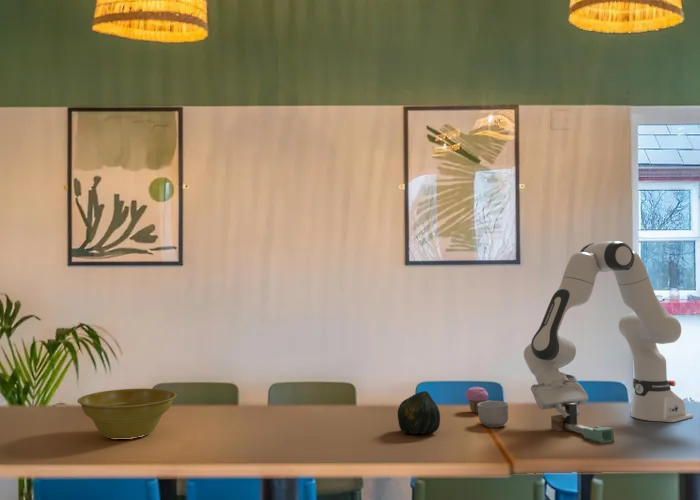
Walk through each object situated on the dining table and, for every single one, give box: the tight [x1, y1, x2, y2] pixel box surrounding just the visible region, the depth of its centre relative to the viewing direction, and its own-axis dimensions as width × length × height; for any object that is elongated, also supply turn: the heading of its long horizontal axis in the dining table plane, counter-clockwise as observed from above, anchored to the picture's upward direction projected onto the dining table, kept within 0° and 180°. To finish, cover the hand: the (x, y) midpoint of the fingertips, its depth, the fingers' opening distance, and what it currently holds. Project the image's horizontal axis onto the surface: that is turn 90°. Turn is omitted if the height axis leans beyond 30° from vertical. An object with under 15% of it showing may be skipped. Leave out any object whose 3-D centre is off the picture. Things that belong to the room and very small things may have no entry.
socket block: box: [550, 414, 570, 432], centre depth 222 cm, size 7×4×4 cm, turn 113°
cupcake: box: [465, 386, 489, 414], centre depth 251 cm, size 9×9×10 cm
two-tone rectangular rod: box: [563, 403, 594, 435], centre depth 216 cm, size 3×15×9 cm, turn 23°
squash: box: [397, 390, 441, 436], centre depth 219 cm, size 14×15×15 cm
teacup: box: [477, 399, 509, 428], centre depth 230 cm, size 14×11×8 cm
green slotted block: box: [583, 425, 615, 444], centre depth 207 cm, size 6×7×4 cm
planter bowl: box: [77, 388, 177, 438], centre depth 219 cm, size 32×32×13 cm
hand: (572, 416), depth 218 cm, fingers closed on two-tone rectangular rod, 3 cm apart
